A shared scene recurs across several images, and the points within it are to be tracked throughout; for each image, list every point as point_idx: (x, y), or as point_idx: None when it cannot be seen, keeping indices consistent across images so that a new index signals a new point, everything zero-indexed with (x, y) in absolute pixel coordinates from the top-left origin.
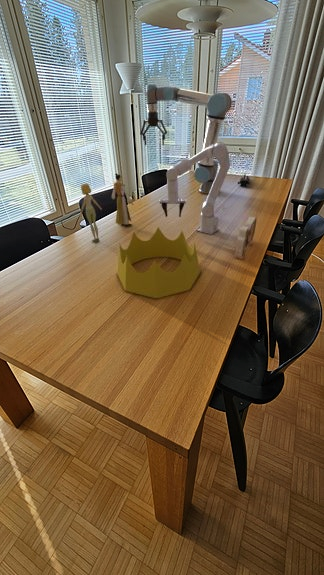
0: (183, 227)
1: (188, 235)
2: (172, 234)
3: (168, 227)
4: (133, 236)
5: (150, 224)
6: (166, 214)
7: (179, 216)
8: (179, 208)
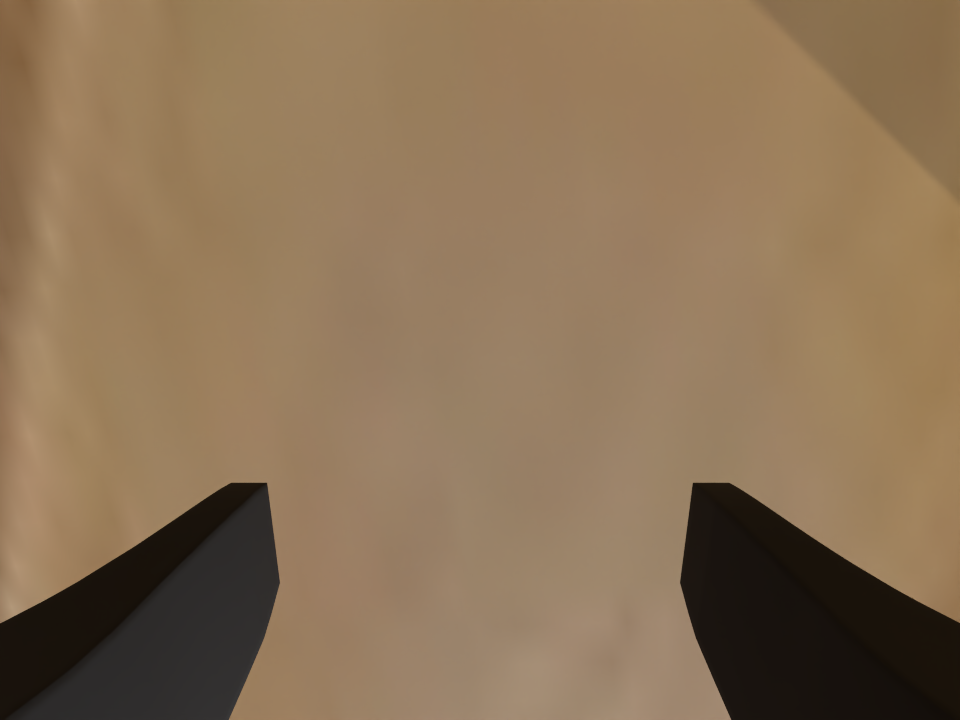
0: (294, 472)
1: (90, 64)
2: (467, 100)
3: (592, 458)
4: None
5: (954, 573)
6: (734, 518)
7: (246, 489)
8: (29, 692)
